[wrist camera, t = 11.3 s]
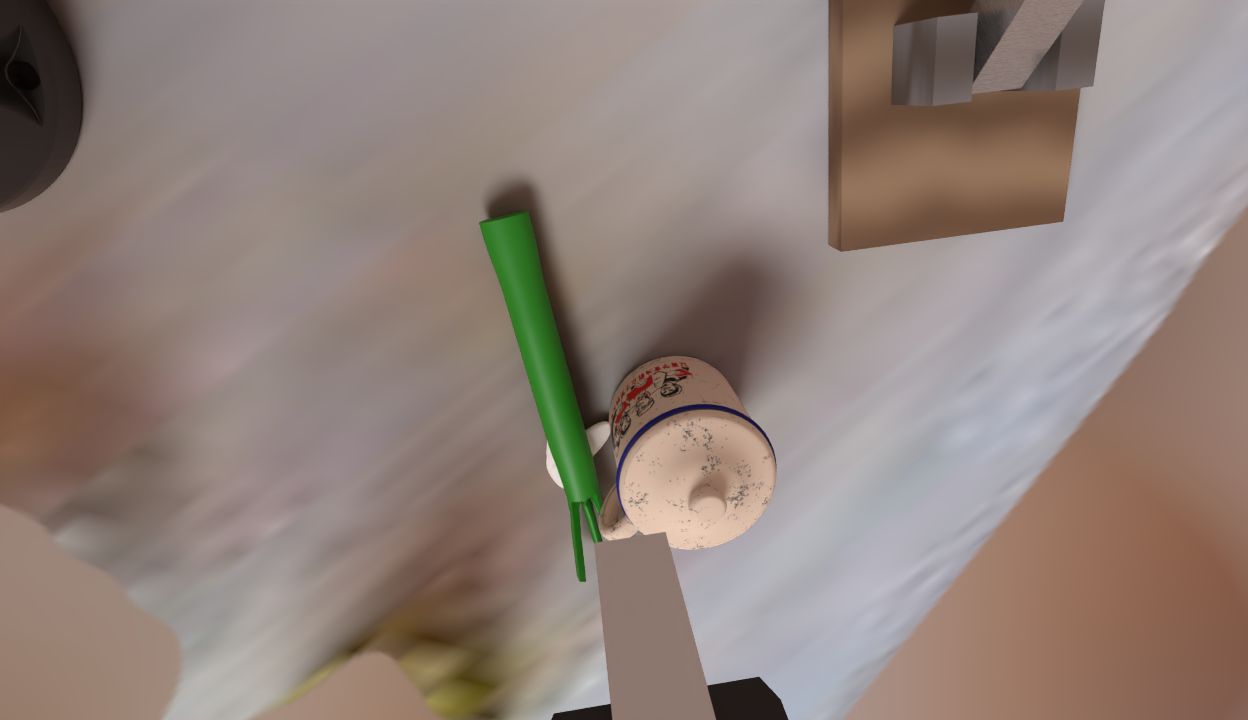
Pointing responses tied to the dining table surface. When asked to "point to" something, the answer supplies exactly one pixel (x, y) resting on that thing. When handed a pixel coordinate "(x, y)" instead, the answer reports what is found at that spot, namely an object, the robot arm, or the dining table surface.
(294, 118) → the dining table surface
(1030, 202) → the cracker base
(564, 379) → the green onion
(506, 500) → the dining table surface
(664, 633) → the robot arm
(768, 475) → the teacup with lid
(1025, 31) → the lever
